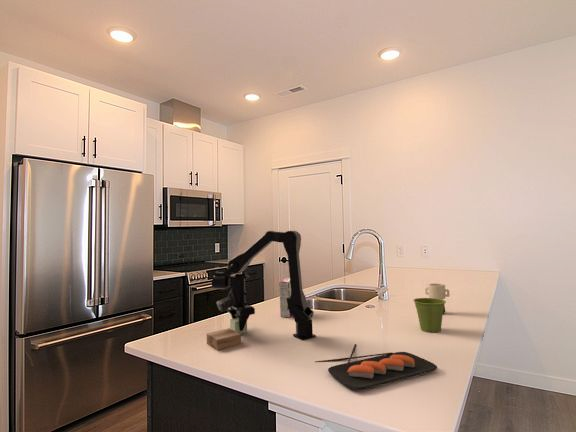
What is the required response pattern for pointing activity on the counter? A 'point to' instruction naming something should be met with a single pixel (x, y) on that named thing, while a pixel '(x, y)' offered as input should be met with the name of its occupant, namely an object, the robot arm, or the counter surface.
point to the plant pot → (430, 313)
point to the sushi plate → (379, 369)
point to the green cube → (237, 326)
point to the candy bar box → (284, 296)
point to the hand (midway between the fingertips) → (238, 329)
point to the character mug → (437, 292)
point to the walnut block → (223, 339)
